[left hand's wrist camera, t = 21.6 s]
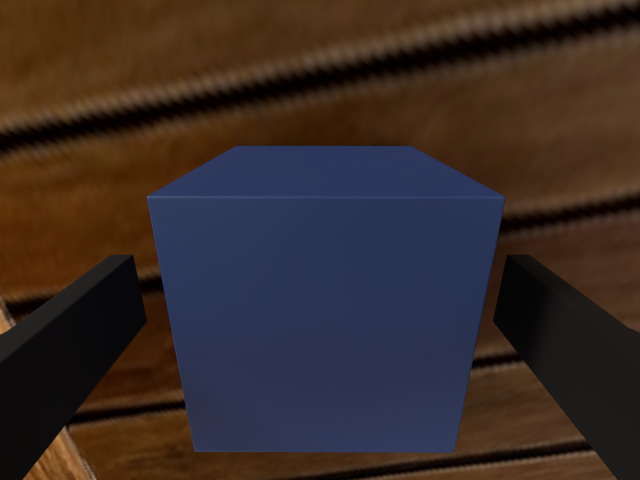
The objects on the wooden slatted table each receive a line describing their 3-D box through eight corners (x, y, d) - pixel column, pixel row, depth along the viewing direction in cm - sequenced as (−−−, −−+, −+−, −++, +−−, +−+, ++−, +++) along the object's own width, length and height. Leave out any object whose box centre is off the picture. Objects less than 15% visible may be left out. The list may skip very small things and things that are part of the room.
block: (235, 145, 16) (145, 196, 8) (412, 146, 16) (507, 196, 8) (248, 299, 20) (193, 452, 11) (397, 300, 20) (454, 453, 11)
